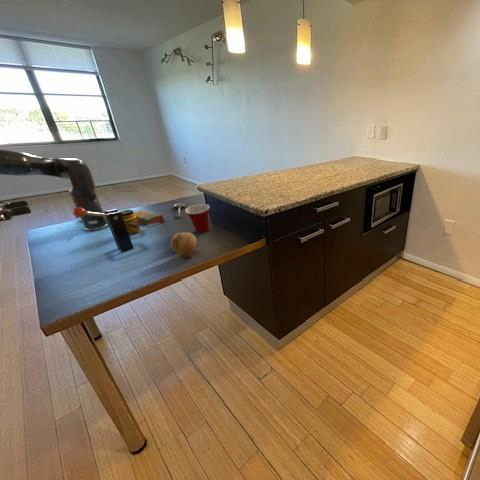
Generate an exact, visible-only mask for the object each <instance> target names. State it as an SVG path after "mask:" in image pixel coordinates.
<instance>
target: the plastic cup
mask: <svg viewBox="0 0 480 480" xmlns="http://www.w3.org/2000/svg"><path fill="white" fill-rule="evenodd" d="M184 211H185V213H186V214H187V215H188V217H189V219H190V221H191V223H192V225H193V228H194V229H195V231H196V233H198V234H202V233H206V232H208V231H209V230H210V205H209V204H208V203H207V204H206V203H198V204H193V205H190V206H187V208H185V210H184Z"/></svg>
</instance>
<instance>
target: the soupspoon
mask: <svg viewBox="0 0 480 480" xmlns="http://www.w3.org/2000/svg"><path fill="white" fill-rule="evenodd" d="M185 206H187V204H186V203H180V202H179V203H175V204H174V207H175V208H178V214H177V218H178V219H181V218H182V216H181V208H183V207H185Z"/></svg>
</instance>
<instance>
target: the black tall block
mask: <svg viewBox="0 0 480 480" xmlns="http://www.w3.org/2000/svg"><path fill="white" fill-rule="evenodd" d="M103 212H104V214H106V215H107V217H106V220H107V222H108V227H109V230H110V232H111V235H112V237H113V240H114V243H115V245H116V247H117V249H118V250H119V251H120V253H124V252H127V251H131V250H133V249H135V247H134V245H133V242H132V239H131V235H129V234H128V231H127V228H126V225H125V223H124V220H123V217H122V215H121V211H120V210H118V208H114V209H110V210H105V211H103ZM109 212H113V213H110V214H109Z"/></svg>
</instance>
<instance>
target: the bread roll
mask: <svg viewBox="0 0 480 480" xmlns="http://www.w3.org/2000/svg"><path fill="white" fill-rule="evenodd" d="M197 242H198V240H197V237H196V236H195V235H194V233H191V232H188V231H187V232H186V231H185V232H178V233H175V234H174V235H173V236H172V238H171V240H170V248H171V250H172V251H173V252H174V253H175V255H177V256H179V257H181V258H189V257H191V256H192V255H193V254H194V252H195V251H196V247H197V244H198V243H197Z"/></svg>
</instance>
